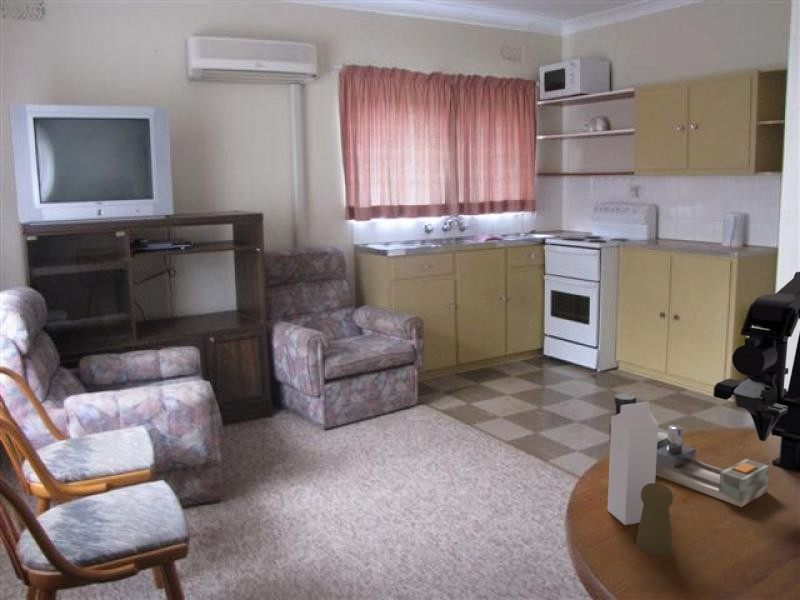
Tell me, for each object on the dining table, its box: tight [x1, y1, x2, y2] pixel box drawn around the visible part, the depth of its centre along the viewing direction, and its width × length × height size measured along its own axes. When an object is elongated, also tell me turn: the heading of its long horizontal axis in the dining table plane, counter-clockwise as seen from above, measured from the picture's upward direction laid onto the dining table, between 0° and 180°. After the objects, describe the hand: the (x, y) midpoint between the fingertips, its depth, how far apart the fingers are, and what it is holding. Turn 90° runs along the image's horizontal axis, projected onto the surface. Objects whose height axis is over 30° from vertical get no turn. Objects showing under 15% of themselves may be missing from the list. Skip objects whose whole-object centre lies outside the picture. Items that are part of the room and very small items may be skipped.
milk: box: [607, 401, 659, 526], centre depth 134 cm, size 6×6×22 cm
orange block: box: [734, 463, 756, 475], centre depth 143 cm, size 4×2×3 cm, turn 128°
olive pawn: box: [635, 482, 674, 556], centre depth 125 cm, size 6×6×11 cm
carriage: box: [656, 424, 697, 468], centre depth 154 cm, size 8×5×7 cm, turn 128°
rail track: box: [655, 431, 770, 508], centre depth 151 cm, size 10×24×6 cm, turn 38°
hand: (762, 440), depth 142 cm, fingers closed
